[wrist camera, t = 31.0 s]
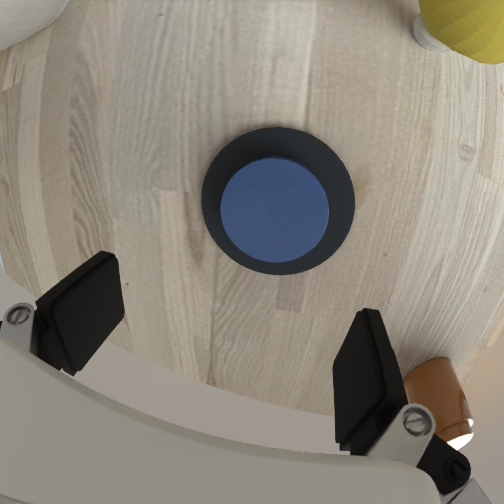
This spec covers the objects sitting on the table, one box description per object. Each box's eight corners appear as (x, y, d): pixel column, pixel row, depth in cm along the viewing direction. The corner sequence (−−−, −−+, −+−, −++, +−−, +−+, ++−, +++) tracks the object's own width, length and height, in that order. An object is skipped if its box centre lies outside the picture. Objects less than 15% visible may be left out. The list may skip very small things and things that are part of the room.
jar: (433, 391, 26) (450, 456, 16) (394, 392, 26) (407, 465, 17) (460, 357, 23) (488, 426, 14) (421, 356, 24) (446, 436, 14)
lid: (233, 147, 17) (226, 149, 16) (336, 167, 17) (340, 171, 15) (221, 240, 21) (215, 251, 19) (313, 259, 20) (314, 272, 18)
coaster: (331, 282, 21) (332, 286, 21) (199, 256, 22) (197, 260, 22) (368, 146, 16) (370, 147, 16) (211, 118, 17) (209, 118, 17)
